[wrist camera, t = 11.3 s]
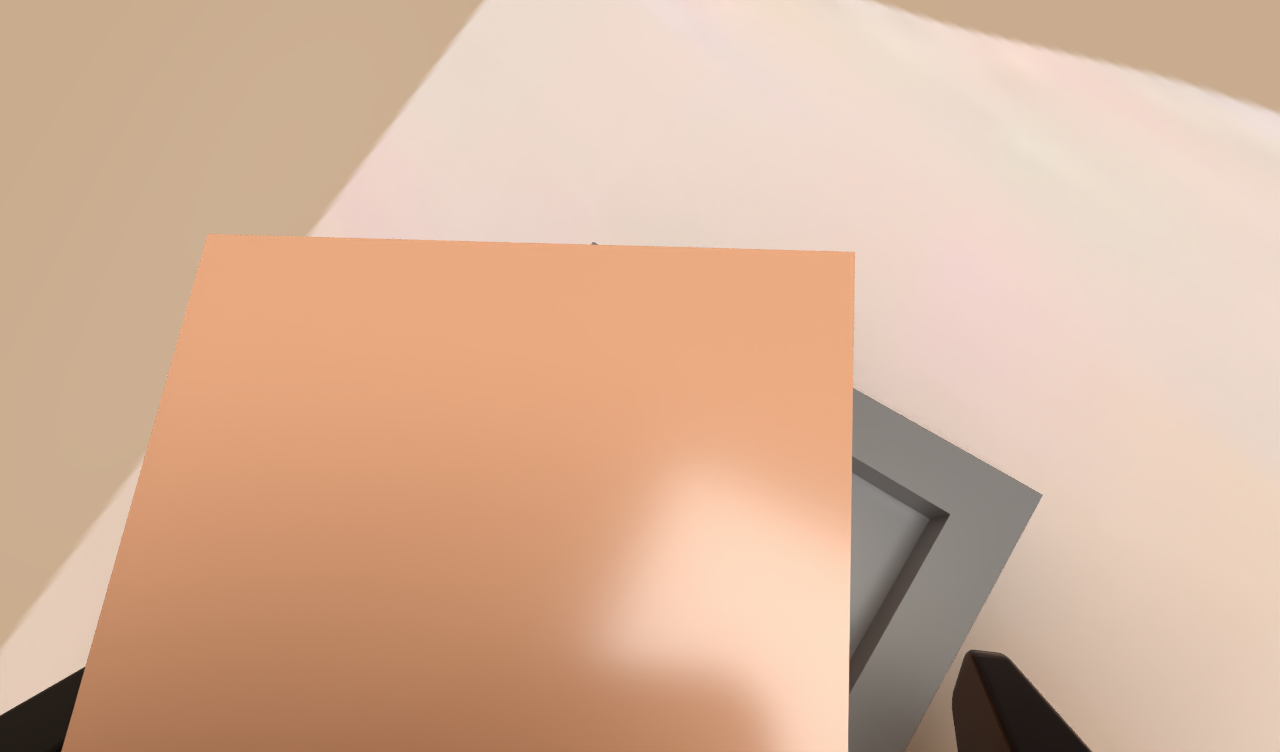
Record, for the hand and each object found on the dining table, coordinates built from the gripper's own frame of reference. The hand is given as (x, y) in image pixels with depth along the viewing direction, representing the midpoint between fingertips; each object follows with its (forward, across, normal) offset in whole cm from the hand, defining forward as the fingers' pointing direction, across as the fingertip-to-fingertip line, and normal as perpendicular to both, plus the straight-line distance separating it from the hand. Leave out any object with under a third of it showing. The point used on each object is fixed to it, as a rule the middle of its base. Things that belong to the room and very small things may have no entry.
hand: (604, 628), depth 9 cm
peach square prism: (+6, 0, +5) cm, 8 cm away
